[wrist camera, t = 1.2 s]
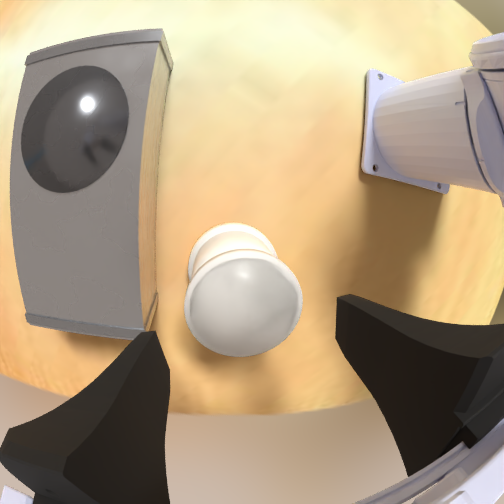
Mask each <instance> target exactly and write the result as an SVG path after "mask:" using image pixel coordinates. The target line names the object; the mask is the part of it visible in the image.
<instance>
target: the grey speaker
mask: <svg viewBox="0 0 504 504" xmlns="http://www.w3.org/2000/svg"><path fill="white" fill-rule="evenodd" d="M25 66H26V69H25V73H24V77H23V81H22V85H21V89H20V94H19V99H18V104H17V110H16V116H15V122H14V130H13V139H12V149H11V165H10V210H11V225H12V236H13V245H14V253H15V260H16V266H17V272H18V277H19V282H20V287H21V292H22V296H23V301H24V305H25V309H26V313H25V316H26V320H27V322H28V323H30V325H34V326H39V327H44V328H50V329H55V330H61V331H66V332H72V333H79V334H85V335H92V336H100V337H108V338H116V339H126V340H134V339H135V338H136V336H137V335H139V334H140V333H141V332H147V331H149V329H150V326H151V322H152V319H153V316H154V312H155V309H156V306H157V303H158V293H156V265H155V224H156V194H157V177H158V163H159V151H160V140H161V131H162V122H163V114H164V107H165V100H166V93H167V86H168V80H169V75H170V71H172V67H173V61H172V57H171V54H170V51H169V48H168V44H167V41H166V38H165V35H164V31H163V29H145V30H133V31H124V32H116V33H109V34H103V35H97V36H92V37H86V38H82V39H77V40H73V41H69V42H65V43H61V44H57V45H54V46H50V47H47V48H44V49H40V50H37V51H34V52H31V53H30V55H28V56H27V58H26V62H25Z"/></svg>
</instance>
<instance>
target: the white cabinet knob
mask: <svg viewBox="0 0 504 504" xmlns="http://www.w3.org/2000/svg"><path fill="white" fill-rule="evenodd" d="M188 275H189V280H190V282H189V285H188V288H187V291H186V296H185V305H184V312H185V318H186V322H187V325H188V327H189V329H190V331H191V333H192V334H193V335H194V337H195V338H196V339H197V340H198V341H199V342H200V343H201V344H202V345H204V346H205V347H206V348H208V349H210V350H212V351H214V352H216V353H219V354H222V355H226V356H232V357H248V356H253V355H257V354H261V353H264V352H266V351H268V350H270V349H272V348H274V347H276V346H277V345H279V344H280V343H281V342H282V341H284V340H285V339H286V338H287V337H288V336H289V335H290V333H291V332H292V331H293V329H294V328H295V326H296V324H297V323H298V320H299V318H300V315H301V311H302V304H303V301H302V291H301V288H300V285H299V283H298V281H297V279H296V277H295V276H294V274H293V273H292V271H291V270H290V269H289V268H288V267H287V266H286V265H285V264H284V262H282V261H281V260H280V259H278V258H277V255H276V252H275V249H274V248H273V246H272V244H271V243H270V242H269V240H268V239H267V238H266V237H265V236H264V235H263V234H262V233H261V232H260V231H259V230H257V229H256V228H254V227H252V226H250V225H247V224H243V223H237V222H229V223H223V224H219V225H216V226H214V227H212V228H210V229H209V230H207V231H206V232H204V233H203V234H202V235H201V236H200V237H199V238H198V240H197V241H196V242H195V244H194V246H193V248H192V251H191V254H190V258H189V264H188Z"/></svg>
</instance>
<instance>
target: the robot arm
mask: <svg viewBox="0 0 504 504" xmlns="http://www.w3.org/2000/svg"><path fill="white" fill-rule="evenodd" d="M469 58H470V60H471V62H472V64H473V66H470V67H465V68H460V69H456V70H451V71H447V72H443V73H439V74H435V75H431V76H427V77H424V78H420V79H416V80H413V81H410V82H403V81H401V80H399V79H397V78H395V77H392V76H390V75H388V74H386V73H383V72H381V71H378V70H376V69H370V70H368V71H367V83H366V112H365V128H364V142H363V153H362V163H361V168H362V171H363V172H364V173H366V174H371V175H375V176H380V177H384V178H388V179H392V180H396V181H400V182H404V183H408V184H412V185H415V186H419V187H422V188H426V189H429V190H433V191H436V192H440V193H443V194H447V193H448V191H449V186H450V184H451V185H457V186H462V187H467V188H472V189H477V190H482V191H486V192H491V193H495V194H498V195H499V196H500V199H501V202H502V206H503V207H504V32H503V33H499V34H495V35H491V36H488V37H485V38H482V39H480V40H477V41H475V42H474V43H473V44H472V49H471V52H470V53H469ZM378 76H379V77H380V79H379V78H378ZM373 165H375V168H376V169H375V171H373ZM437 185H438V187H437ZM335 338H336V340H337V342H338V344H339V347H340V349H341V350H342V352H343V354H344V356H345V358H346V359H347V361H348V362H349V363H350V365H351V366H352V368H353V369H354V370H355V372H356V373H357V375H358V376H359V377H360V379H361V380H362V381H363V383H364V384H365V386H366V387H367V388H368V390H369V391H370V392H371V394H372V396H373V397H374V399H375V400H376V402H377V404H378V406H379V408H380V410H381V411H382V413H383V415H384V417H385V419H386V421H387V424H388V426H389V428H390V430H391V432H392V434H393V436H394V439H395V441H396V444H397V446H398V449H399V451H400V454H401V457H402V460H403V462H404V465H405V468H406V472H407V475H408V478H406V479H404V480H402V481H400V482H399V483H397V484H395V485H393V486H391V487H389V488H387V489H385V490H383V491H381V492H379V493H376V494H374V495H372V496H370V497H368V498H365V499H363V500H360V501H358V502H355V503H353V504H402V503H404V502H406V501H407V500H409V499H411V498H413V497H414V496H416V495H418V494H419V493H421V492H423V491H424V490H426V489H428V488H429V487H430V486H432V485H434V484H435V483H437V482H438V483H437V484H436V485H434V486H433V487H432V488H430V489H429V490H427V491H426V492H425V493H423V494H422V495H420V496H419V497H418V498H416V499H415V500H414V502H413V503H412V504H494V503H495V502H496V501H497V500H498V498H499V497H500V496H501V495H502V494H503V493H504V324H496V325H459V324H450V323H443V322H437V321H432V320H428V319H423V318H419V317H415V316H412V315H409V314H406V313H402V312H399V311H396V310H393V309H391V308H388V307H385V306H383V305H380V304H377V303H375V302H372V301H369V300H367V299H364V298H361V297H358V296H355V295H351V294H349V295H345V296H341V297H337V312H336V336H335ZM169 397H170V369H169V366H168V364H167V361H166V359H165V356H164V353H163V351H162V348H161V345H160V342H159V340H158V337H157V334H156V331H147V332H141V333H140V334H139V335H137V336H136V338H135V339H134V340H133V341H132V342H131V343H130V344H129V345H128V346H127V347H126V348H125V349H124V351H123V352H122V353H121V354H120V355H119V356H118V357H117V358H116V359H115V360H114V361H113V362H112V363H111V364H110V365H109V366H108V367H107V368H106V369H105V370H104V371H103V372H102V373H101V374H100V375H99V376H98V377H97V378H96V379H95V380H94V381H93V382H92V383H90V384H89V385H88V386H87V387H86V388H84V389H83V390H82V391H81V392H79V393H78V394H77V395H75V396H74V397H72V398H71V399H69V400H68V401H66V402H65V403H63V404H62V405H60V406H59V407H57V408H55V409H54V410H52V411H50V412H48V413H46V414H44V415H42V416H40V417H38V418H36V419H34V420H32V421H29V422H26V423H24V424H21V425H18V426H16V427H13V428H10V429H9V430H8V432H7V434H6V436H5V438H4V441H3V443H2V445H1V447H0V462H1V463H2V465H3V466H4V467H5V468H6V469H7V470H8V471H9V472H10V473H11V474H13V475H14V476H15V477H16V478H18V480H20V481H21V482H22V483H23V484H25V485H26V486H27V487H29V488H30V489H31V490H32V491H34V492H35V496H34V499H33V498H32V497H30V496H28V495H26V494H24V493H22V492H20V491H18V490H16V489H13V488H12V487H9V486H7V485H5V486H4V489H3V492H2V496H1V499H0V504H170V499H169V493H168V486H167V477H166V465H165V431H166V422H167V414H168V405H169Z"/></svg>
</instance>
